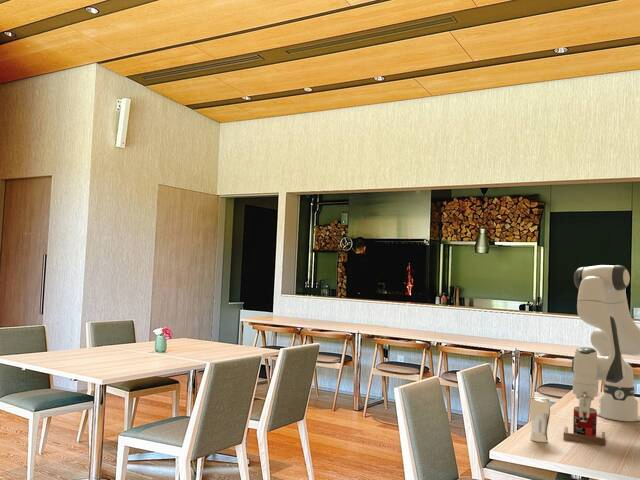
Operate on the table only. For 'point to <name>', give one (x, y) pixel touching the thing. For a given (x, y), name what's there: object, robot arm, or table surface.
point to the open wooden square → (584, 438)
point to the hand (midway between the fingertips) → (584, 426)
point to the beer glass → (539, 418)
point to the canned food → (585, 422)
